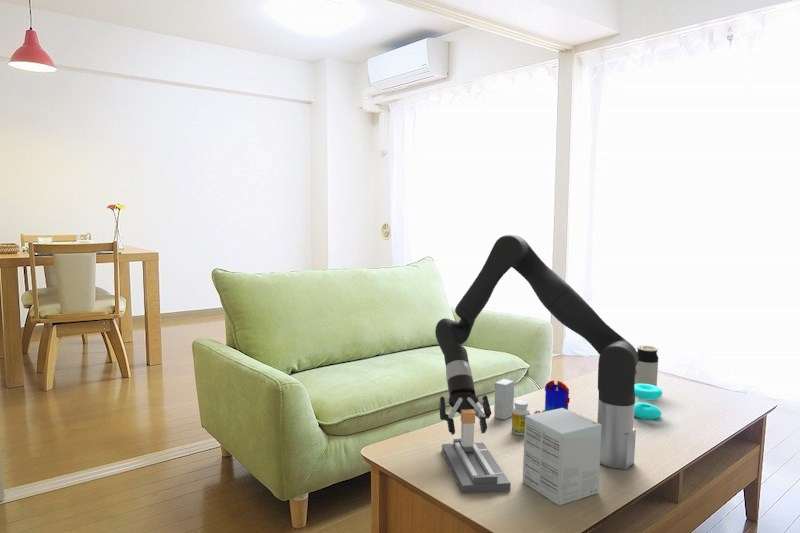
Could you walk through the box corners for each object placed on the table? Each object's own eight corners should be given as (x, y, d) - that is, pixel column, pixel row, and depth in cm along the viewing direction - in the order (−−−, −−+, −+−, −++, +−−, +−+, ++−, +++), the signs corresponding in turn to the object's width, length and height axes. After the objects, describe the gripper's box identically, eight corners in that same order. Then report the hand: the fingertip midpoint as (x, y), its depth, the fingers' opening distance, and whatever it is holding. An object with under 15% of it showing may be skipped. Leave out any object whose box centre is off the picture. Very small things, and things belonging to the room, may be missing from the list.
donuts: (635, 390, 180) (626, 381, 190) (634, 420, 181) (624, 409, 191) (667, 392, 179) (656, 383, 189) (665, 421, 180) (654, 410, 190)
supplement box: (560, 470, 144) (562, 406, 142) (599, 493, 133) (603, 424, 131) (521, 481, 138) (523, 414, 136) (559, 506, 126) (562, 433, 125)
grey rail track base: (441, 450, 155) (442, 438, 155) (482, 449, 157) (483, 437, 156) (462, 493, 132) (462, 479, 131) (510, 490, 133) (510, 476, 133)
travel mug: (657, 392, 210) (660, 347, 208) (654, 398, 203) (657, 351, 202) (635, 389, 214) (637, 344, 212) (631, 394, 207) (634, 348, 206)
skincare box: (502, 412, 187) (503, 378, 185) (513, 415, 184) (514, 380, 183) (493, 417, 182) (494, 382, 181) (504, 420, 179) (506, 385, 178)
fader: (459, 447, 152) (460, 409, 151) (471, 447, 153) (472, 409, 152) (462, 452, 149) (463, 413, 148) (474, 451, 150) (475, 412, 149)
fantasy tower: (531, 414, 186) (532, 379, 184) (550, 406, 193) (552, 373, 192) (561, 424, 177) (563, 388, 176) (581, 415, 185) (582, 381, 183)
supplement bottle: (520, 427, 173) (521, 398, 172) (532, 433, 169) (533, 403, 168) (507, 431, 170) (508, 401, 169) (520, 437, 166) (521, 406, 165)
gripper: (437, 373, 156) (445, 428, 145) (486, 372, 157) (497, 426, 147) (433, 386, 161) (441, 439, 151) (480, 385, 163) (490, 437, 153)
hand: (468, 432), depth 149 cm, fingers open, 8 cm apart
